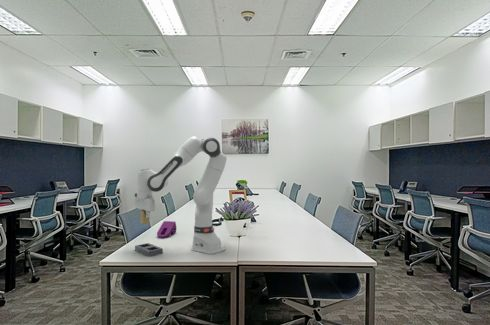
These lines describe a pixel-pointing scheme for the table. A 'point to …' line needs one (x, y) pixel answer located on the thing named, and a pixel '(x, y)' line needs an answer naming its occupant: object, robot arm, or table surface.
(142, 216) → the bronze block
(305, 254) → the table surface
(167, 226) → the mounting bracket
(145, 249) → the gray slotted block
